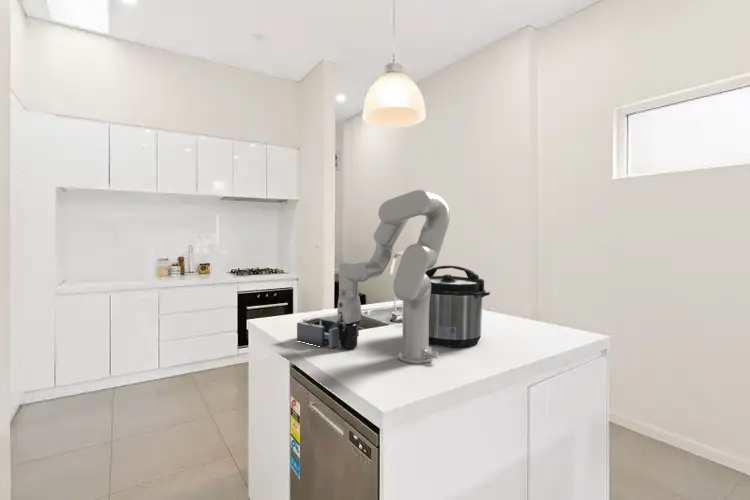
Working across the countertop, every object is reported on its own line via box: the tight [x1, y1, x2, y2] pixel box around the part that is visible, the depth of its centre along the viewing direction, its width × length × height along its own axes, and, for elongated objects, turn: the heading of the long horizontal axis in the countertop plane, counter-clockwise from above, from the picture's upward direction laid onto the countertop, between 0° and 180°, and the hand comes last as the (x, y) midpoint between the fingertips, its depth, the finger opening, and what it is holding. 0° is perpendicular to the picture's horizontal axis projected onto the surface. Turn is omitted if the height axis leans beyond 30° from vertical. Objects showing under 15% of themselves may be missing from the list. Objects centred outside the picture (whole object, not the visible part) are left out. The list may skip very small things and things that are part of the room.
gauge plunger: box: [308, 320, 340, 349], centre depth 159 cm, size 13×12×9 cm
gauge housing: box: [296, 317, 336, 348], centre depth 162 cm, size 14×12×8 cm
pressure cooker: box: [425, 265, 491, 348], centre depth 166 cm, size 30×28×32 cm
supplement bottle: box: [339, 322, 359, 349], centre depth 153 cm, size 7×7×12 cm
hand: (348, 337), depth 153 cm, fingers open, 7 cm apart
